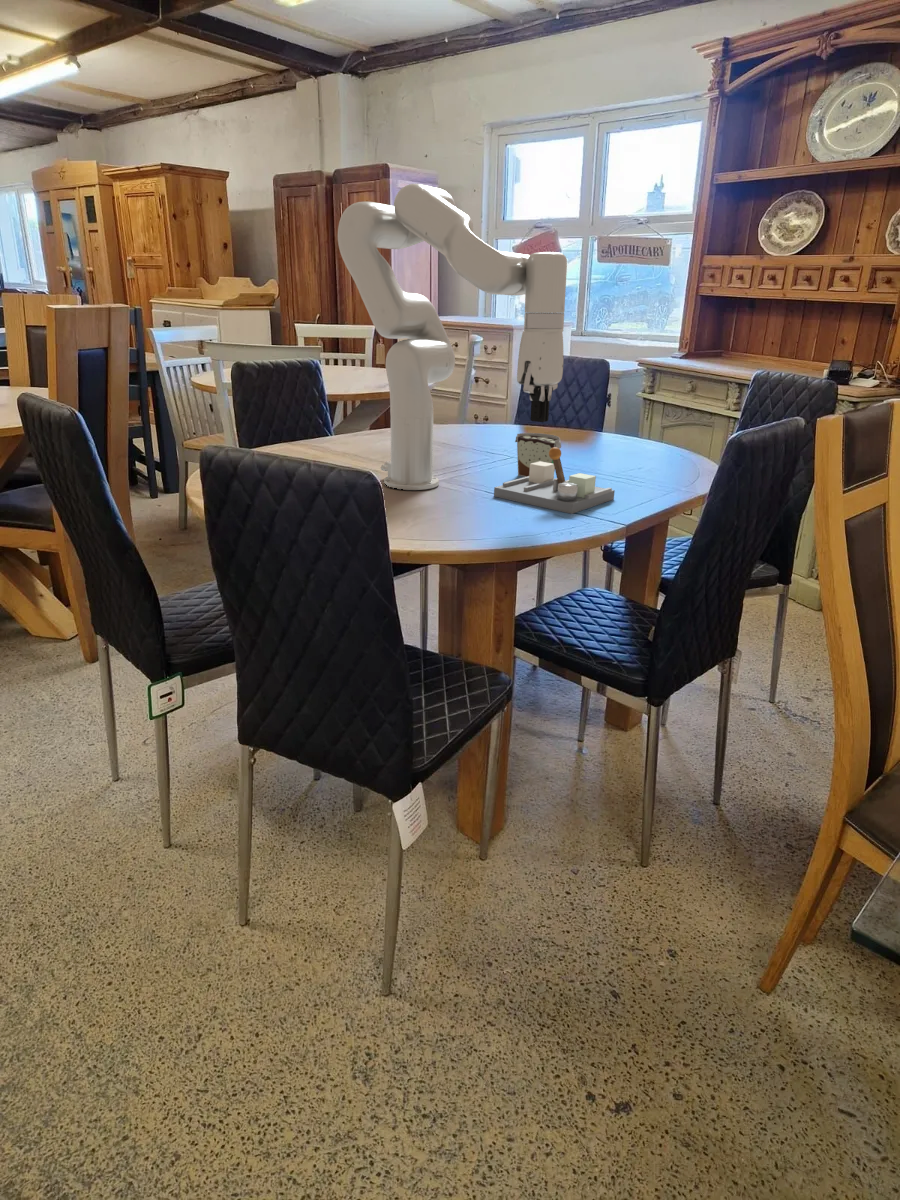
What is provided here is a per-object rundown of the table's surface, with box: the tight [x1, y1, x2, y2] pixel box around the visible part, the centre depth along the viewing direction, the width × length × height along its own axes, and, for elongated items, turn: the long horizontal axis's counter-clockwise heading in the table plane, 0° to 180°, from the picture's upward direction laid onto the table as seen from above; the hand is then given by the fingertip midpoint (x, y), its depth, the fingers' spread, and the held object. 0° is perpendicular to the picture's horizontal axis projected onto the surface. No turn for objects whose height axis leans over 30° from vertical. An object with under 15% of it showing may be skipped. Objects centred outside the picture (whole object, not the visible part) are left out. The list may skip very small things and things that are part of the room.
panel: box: [493, 476, 616, 515], centre depth 165 cm, size 20×17×4 cm
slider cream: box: [529, 461, 555, 483], centre depth 171 cm, size 4×4×4 cm
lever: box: [549, 447, 566, 484], centre depth 161 cm, size 3×3×10 cm
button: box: [557, 483, 578, 502], centre depth 156 cm, size 4×4×3 cm
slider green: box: [568, 472, 597, 498], centre depth 160 cm, size 4×4×4 cm
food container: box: [514, 432, 562, 478], centre depth 184 cm, size 12×6×10 cm, turn 47°
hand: (539, 421), depth 152 cm, fingers closed
